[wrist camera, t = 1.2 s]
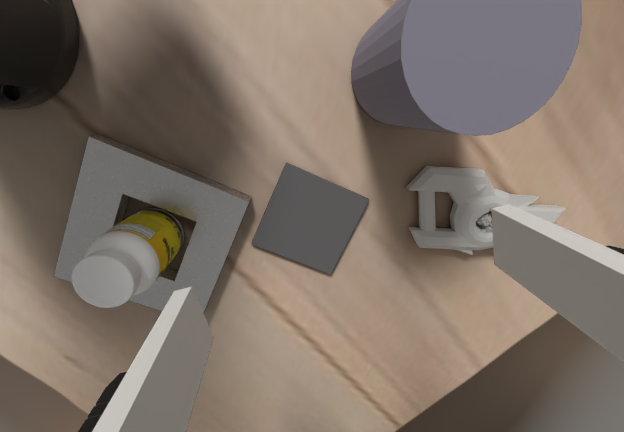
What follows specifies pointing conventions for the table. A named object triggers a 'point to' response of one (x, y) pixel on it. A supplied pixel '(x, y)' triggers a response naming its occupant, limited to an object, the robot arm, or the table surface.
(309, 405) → the table surface
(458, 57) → the container
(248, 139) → the table surface
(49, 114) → the table surface
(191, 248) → the housing plate
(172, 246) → the pill bottle
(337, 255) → the rubber mat
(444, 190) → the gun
